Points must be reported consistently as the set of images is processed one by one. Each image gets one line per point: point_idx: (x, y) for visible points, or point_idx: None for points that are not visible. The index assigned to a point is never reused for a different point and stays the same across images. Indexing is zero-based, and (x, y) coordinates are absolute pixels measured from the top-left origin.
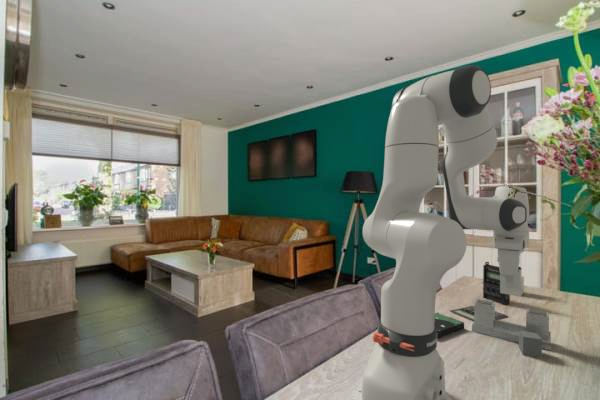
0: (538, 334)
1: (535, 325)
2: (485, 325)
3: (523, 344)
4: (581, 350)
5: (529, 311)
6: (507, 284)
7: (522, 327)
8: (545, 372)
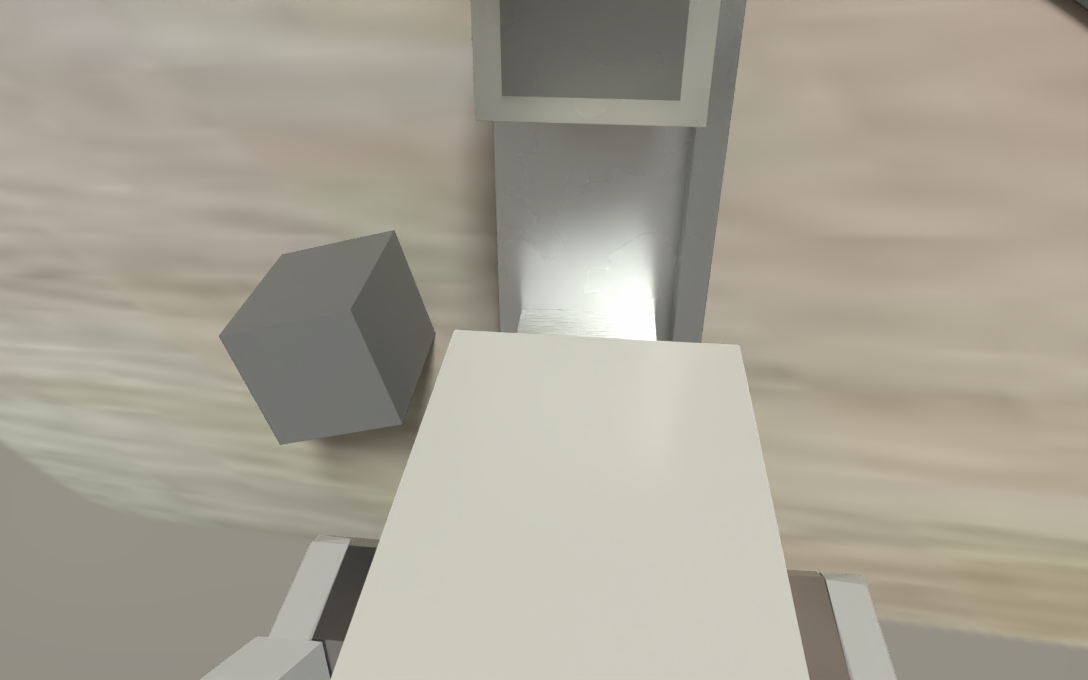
0: None
1: None
2: None
3: (248, 299)
4: None
5: None
6: (296, 600)
7: (676, 300)
8: (130, 358)
